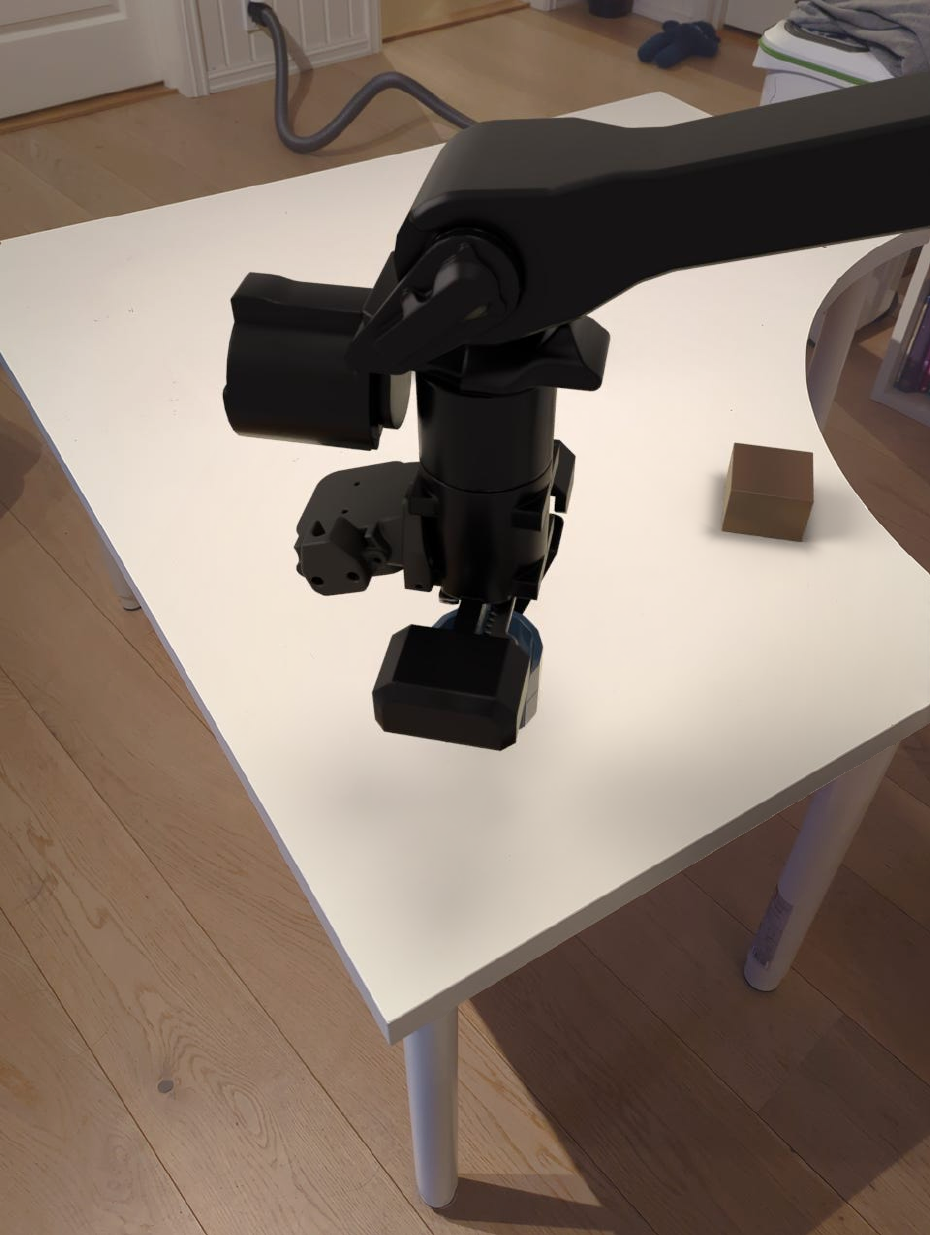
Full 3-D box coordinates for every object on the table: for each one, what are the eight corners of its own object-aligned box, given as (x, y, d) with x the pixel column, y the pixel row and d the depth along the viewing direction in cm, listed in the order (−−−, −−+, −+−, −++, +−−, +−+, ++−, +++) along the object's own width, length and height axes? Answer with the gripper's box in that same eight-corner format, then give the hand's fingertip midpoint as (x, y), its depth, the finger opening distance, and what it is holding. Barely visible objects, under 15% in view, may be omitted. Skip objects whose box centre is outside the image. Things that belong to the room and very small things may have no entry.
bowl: (546, 668, 58) (550, 612, 55) (528, 755, 54) (531, 700, 51) (441, 652, 59) (439, 596, 56) (415, 736, 55) (412, 680, 52)
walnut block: (801, 492, 83) (813, 452, 81) (801, 542, 79) (814, 501, 77) (725, 482, 84) (734, 441, 81) (721, 530, 80) (730, 490, 77)
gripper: (363, 317, 52) (383, 549, 63) (227, 574, 39) (283, 805, 51) (586, 341, 50) (566, 575, 62) (519, 617, 38) (509, 846, 49)
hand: (484, 686), depth 56 cm, fingers closed on bowl, 6 cm apart
